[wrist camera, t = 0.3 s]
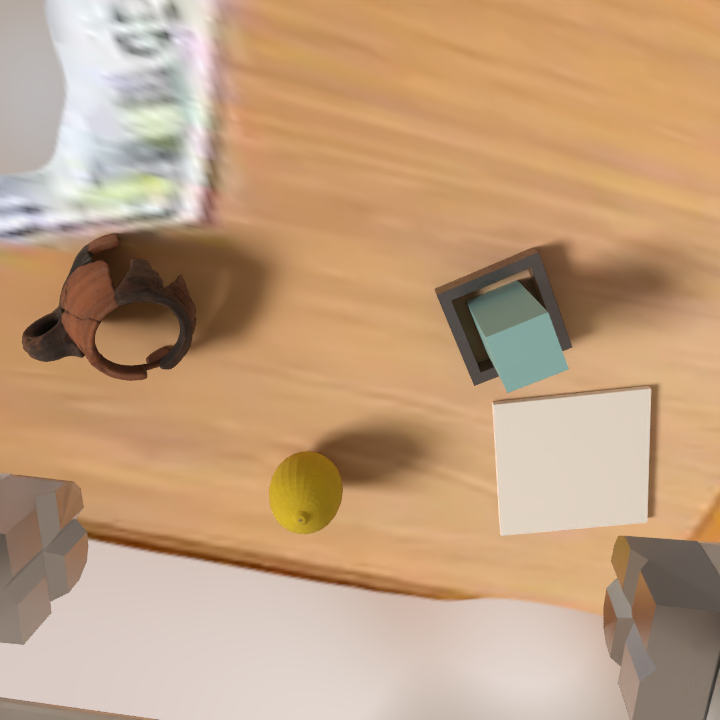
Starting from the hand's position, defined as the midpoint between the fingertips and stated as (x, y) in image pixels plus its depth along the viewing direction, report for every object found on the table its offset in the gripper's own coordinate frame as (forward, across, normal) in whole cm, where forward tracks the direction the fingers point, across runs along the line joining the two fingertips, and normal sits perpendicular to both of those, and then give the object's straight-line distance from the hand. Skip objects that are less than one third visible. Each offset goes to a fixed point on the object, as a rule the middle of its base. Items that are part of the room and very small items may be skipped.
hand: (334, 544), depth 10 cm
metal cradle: (+40, -6, +6) cm, 41 cm away
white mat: (+41, -13, +18) cm, 46 cm away
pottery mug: (+37, +22, +6) cm, 43 cm away
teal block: (+40, -6, +6) cm, 41 cm away
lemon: (+39, +8, +19) cm, 44 cm away
